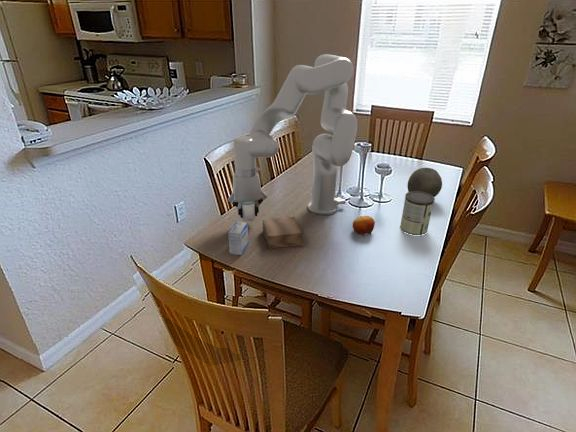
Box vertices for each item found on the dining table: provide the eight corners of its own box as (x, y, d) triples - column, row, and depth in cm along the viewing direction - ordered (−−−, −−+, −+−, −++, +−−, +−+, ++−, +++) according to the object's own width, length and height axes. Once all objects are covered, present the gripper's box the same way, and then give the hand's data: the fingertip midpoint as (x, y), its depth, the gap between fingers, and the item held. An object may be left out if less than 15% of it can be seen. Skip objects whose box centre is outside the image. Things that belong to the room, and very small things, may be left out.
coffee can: (400, 221, 149) (406, 189, 143) (427, 225, 146) (434, 193, 140) (398, 233, 141) (404, 200, 134) (427, 238, 138) (434, 204, 131)
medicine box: (242, 255, 126) (240, 233, 122) (229, 254, 127) (227, 232, 123) (248, 243, 133) (248, 222, 129) (236, 242, 133) (235, 220, 129)
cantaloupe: (403, 203, 163) (409, 171, 156) (406, 191, 175) (412, 161, 168) (437, 210, 159) (444, 177, 152) (438, 197, 170) (445, 166, 163)
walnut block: (293, 228, 143) (294, 216, 140) (301, 244, 132) (302, 232, 130) (262, 231, 140) (262, 219, 138) (268, 248, 130) (268, 236, 128)
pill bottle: (254, 214, 146) (253, 195, 142) (256, 220, 142) (255, 201, 138) (241, 215, 145) (239, 197, 141) (242, 222, 141) (241, 203, 137)
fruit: (364, 238, 134) (359, 217, 134) (352, 239, 141) (347, 219, 141) (381, 233, 138) (377, 212, 137) (369, 234, 145) (364, 214, 145)
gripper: (267, 165, 139) (268, 208, 148) (221, 169, 136) (225, 213, 144) (271, 173, 132) (272, 217, 141) (222, 177, 129) (227, 222, 138)
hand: (248, 215), depth 143 cm, fingers closed on pill bottle, 5 cm apart
